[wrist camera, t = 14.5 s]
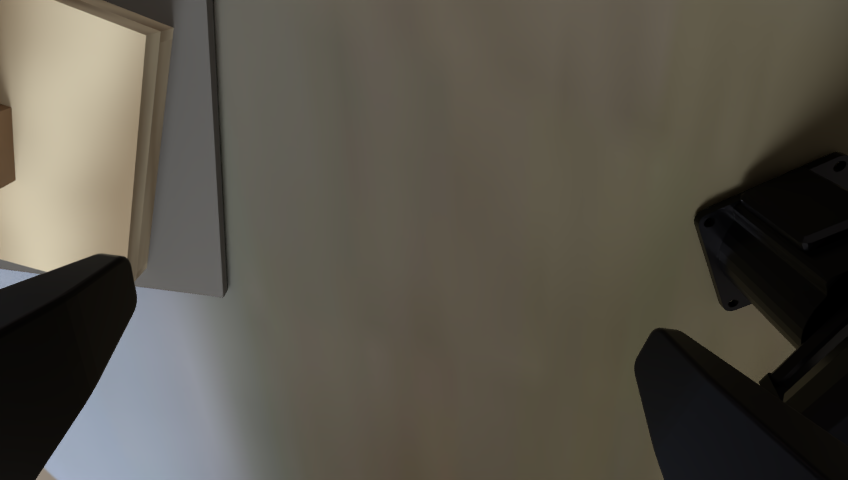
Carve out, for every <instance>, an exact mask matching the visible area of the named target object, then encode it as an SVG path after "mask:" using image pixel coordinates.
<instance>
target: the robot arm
mask: <svg viewBox="0 0 848 480" xmlns="http://www.w3.org/2000/svg"><path fill="white" fill-rule="evenodd" d="M838 162H839V163H838ZM836 163H838V164H837V166H835V164H836ZM834 166H835V167H834ZM708 218H711V219H710V220H709V221H708V222H707V223H704V222H705V220H707V219H708ZM694 224H695V227H696V230H697V233H698V237H699V240H700V243H701V246H702V250H703V253H704V256H705V259H706V262H707V266H708V269H709V272H710V275H711V278H712V282H713V285H714V288H715V291H716V294H717V298H718V301H719V303H720V305H721V306H722V307H723V308H724V309H725V310H727V311H733V310H737V309H739V308H742V307H744V306H747V305H750V304H753V305H754V306H755V307H756V308H757V309H758V310H759V311H760V312H761V313H762V314H763V316H764V317H765V318H766V319H767V320H768V321H769V322H770V323H771V324H772V325H773V326H774V327H775V328H776V329H777V330H778V331H779V332H780V333H781V334H782V335H783V336H784V337H785V338H786V339H787V340H788V341H789V342H790V343H791V344H792V345H793V346H794V347H795V348H796V350H795V351H794V352H793V353H792V354H791V355H790V356H789V357H788V358H787V359H786V360H785V361H784V362H783V363H782V364H781V365H780V366H779V367H778V368H777V369H776V370H774V371H773V372H772V373H768V374H767V375H766V376H764V377H763V378H762V379H761V380H760V381H759V384H760V385H758V384H757V383H756V382H754V381H753V380H751V379H750V378H748V377H747V376H745V375H744V374H742V373H741V372H740V371H738V370H737V369H735V368H734V367H732V366H731V365H729V364H728V363H726V362H725V361H724V360H722V359H721V358H719V357H718V356H716V355H715V354H713V353H712V352H711V351H709V350H708V349H706V348H705V347H703V346H702V345H700V344H699V343H697V342H696V341H695V340H693V339H692V338H690V337H689V336H687V335H686V334H684V333H683V332H681V331H679V330H674V329H666V328H656V329H654V330H653V331H652V332H651V334H650V335H649V337H648V339H647V341H646V342H645V344H644V346H643V348H642V349H641V351H640V353H639V355H638V356H637V358H636V361H635V366H634V371H635V377H636V381H637V385H638V389H639V393H640V397H641V401H642V405H643V409H644V413H645V417H646V421H647V425H648V429H649V433H650V437H651V440H652V444H653V448H654V451H655V454H656V457H657V460H658V463H659V466H660V469H661V472H662V475H663V478H664V480H848V155H846V154H843V153H841V152H835V153H832V154H829V155H827V156H825V157H822V158H820V159H818V160H816V161H813V162H811V163H809V164H807V165H804V166H802V167H800V168H797V169H795V170H793V171H791V172H788V173H786V174H784V175H782V176H779V177H777V178H775V179H772V180H770V181H768V182H766V183H763V184H761V185H759V186H757V187H754V188H752V189H750V190H747V191H745V192H743V193H741V194H738V195H736V196H734V197H732V198H729V199H727V200H725V201H722V202H720V203H718V204H716V205H713V206H711V207H709V208H707V209H704V210H702V211H701V212H699V213H698V214H697V215H696V216H695V219H694ZM731 300H732V301H731ZM730 301H731V302H730ZM136 303H137V294H136V289H135V283H134V277H133V272H132V266H131V263H130V261H129V259H128V258H126V257H124V256H119V255H112V254H104V253H99V254H95V255H92V256H89V257H87V258H84V259H81V260H78V261H76V262H73V263H70V264H68V265H65V266H62V267H59V268H57V269H54V270H51V271H48V272H46V273H43V274H40V275H38V276H35V277H32V278H29V279H27V280H24V281H21V282H18V283H16V284H13V285H10V286H8V287H5V288H2V289H0V480H36V478H37V476H38V475H39V474H40V472H41V470H42V469H43V468H44V466H45V464H46V463H47V461H48V460H49V458H50V457H51V455H52V454H53V452H54V451H55V449H56V448H57V446H58V445H59V443H60V442H61V440H62V439H63V437H64V436H65V434H66V433H67V431H68V430H69V428H70V427H71V425H72V423H73V422H74V420H75V419H76V417H77V416H78V414H79V413H80V411H81V410H82V408H83V407H84V405H85V404H86V402H87V400H88V399H89V397H90V396H91V394H92V392H93V390H94V389H95V387H96V385H97V383H98V381H99V379H100V377H101V375H102V374H103V372H104V370H105V368H106V366H107V364H108V362H109V360H110V358H111V356H112V354H113V352H114V350H115V348H116V346H117V344H118V342H119V340H120V338H121V336H122V334H123V332H124V330H125V329H126V327H127V325H128V323H129V321H130V319H131V317H132V315H133V313H134V311H135V308H136Z"/></svg>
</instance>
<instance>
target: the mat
mask: <svg viewBox="0 0 848 480" xmlns="http://www.w3.org/2000/svg"><path fill="white" fill-rule="evenodd" d="M103 1H106V2H109V3H111V4H114V5H116V6H119V7H121V8H124V9H127V10H129V11H132V12H134V13H137V14H139V15H142V16H144V17H147V18H150V19H152V20H155V21H157V22H160V23H162V24H165V25H168V26H170V27H173V28H174V30H173V39H172V48H171V57H170V65H169V74H168V83H167V92H166V101H165V110H164V119H163V128H162V137H161V146H160V155H159V164H158V173H157V182H156V190H155V199H154V208H153V217H152V226H151V235H150V244H149V253H148V262H147V268H146V269H145V270H144V272H143V273H142V274H141V275H140V276H139V277H138V278H137V279H136V281H135V282H134V283H135V286H137V287H145V288H153V289H161V290H168V291H176V292H184V293H192V294H199V295H207V296H215V297H222V298H223V297H224V295H225V294H226V292H227V272H226V252H225V233H224V213H223V193H222V173H221V153H220V133H219V114H218V94H217V74H216V54H215V34H214V14H213V0H103ZM0 269H6V270H14V271H21V272H29V273H37V274H43V273H46V272H45V271H41V270H38V269H34V268H30V267H27V266H23V265H19V264H16V263H12V262H8V261H5V260H1V259H0Z"/></svg>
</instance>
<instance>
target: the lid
mask: <svg viewBox="0 0 848 480" xmlns="http://www.w3.org/2000/svg"><path fill="white" fill-rule="evenodd" d="M173 30H174V28H173V27H170V26H168V25H165V24H162V23H160V22H157V21H155V20H152V19H150V18H147V17H144V16H142V15H139V14H137V13H134V12H132V11H129V10H127V9H124V8H121V7H119V6H116V5H114V4H111V3H109V2H106V1H103V0H0V259H1V260H5V261H8V262H12V263H16V264H19V265H23V266H27V267H30V268H34V269H38V270H41V271H45V272H48V271H51V270H54V269H57V268H59V267H62V266H65V265H68V264H70V263H73V262H76V261H78V260H81V259H84V258H87V257H89V256H92V255H95V254H99V253H104V254H112V255H119V256H124V257H126V258H128V259H129V261H130V263H131V266H132V272H133V277H134V282H135V281H136V279H137V278H138V277H139V276H140V275H141V274H142V273H143V272H144V270H145V269H146V268H147V262H148V253H149V244H150V235H151V226H152V217H153V208H154V199H155V190H156V182H157V173H158V164H159V155H160V146H161V137H162V128H163V119H164V110H165V101H166V92H167V83H168V74H169V65H170V57H171V48H172V39H173Z"/></svg>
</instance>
